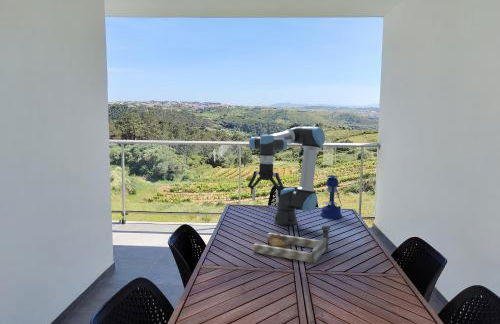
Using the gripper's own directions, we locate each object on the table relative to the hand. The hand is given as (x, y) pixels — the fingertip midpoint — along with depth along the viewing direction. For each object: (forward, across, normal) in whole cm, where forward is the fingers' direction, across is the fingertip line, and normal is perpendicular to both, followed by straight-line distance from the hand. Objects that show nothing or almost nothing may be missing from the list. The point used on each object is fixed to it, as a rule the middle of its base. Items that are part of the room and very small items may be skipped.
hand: (265, 201), depth 201 cm
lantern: (+23, +27, +72) cm, 80 cm away
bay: (+24, +17, -4) cm, 29 cm away
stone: (+24, +8, -4) cm, 26 cm away
